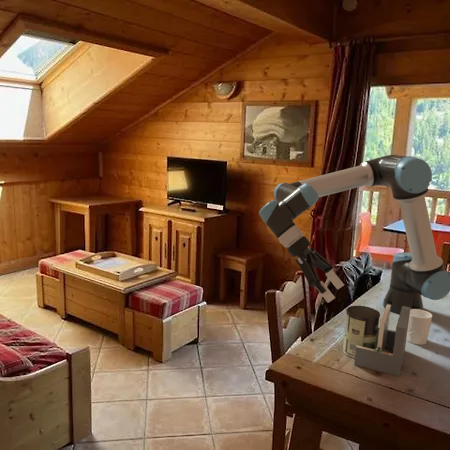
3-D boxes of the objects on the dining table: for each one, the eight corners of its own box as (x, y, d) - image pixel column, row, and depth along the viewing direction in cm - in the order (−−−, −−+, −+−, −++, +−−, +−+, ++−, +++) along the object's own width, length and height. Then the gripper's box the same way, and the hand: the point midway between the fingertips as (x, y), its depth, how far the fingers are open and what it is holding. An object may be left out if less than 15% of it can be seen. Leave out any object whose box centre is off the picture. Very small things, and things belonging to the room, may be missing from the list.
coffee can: (373, 347, 152) (378, 307, 149) (377, 362, 142) (382, 319, 139) (341, 343, 153) (345, 303, 150) (343, 357, 144) (347, 315, 141)
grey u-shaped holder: (404, 350, 150) (410, 307, 147) (399, 376, 134) (405, 329, 131) (364, 341, 155) (368, 299, 152) (354, 365, 139) (359, 319, 136)
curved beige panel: (386, 344, 151) (390, 305, 148) (378, 369, 135) (383, 326, 132) (382, 343, 152) (387, 304, 149) (373, 368, 136) (379, 325, 133)
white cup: (427, 337, 160) (431, 311, 158) (429, 347, 153) (433, 319, 150) (403, 333, 162) (407, 307, 160) (404, 343, 155) (407, 315, 153)
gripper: (297, 240, 163) (336, 288, 160) (273, 257, 141) (317, 312, 138) (313, 228, 160) (352, 276, 157) (291, 243, 138) (337, 299, 134)
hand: (336, 293), depth 147 cm, fingers open, 13 cm apart
